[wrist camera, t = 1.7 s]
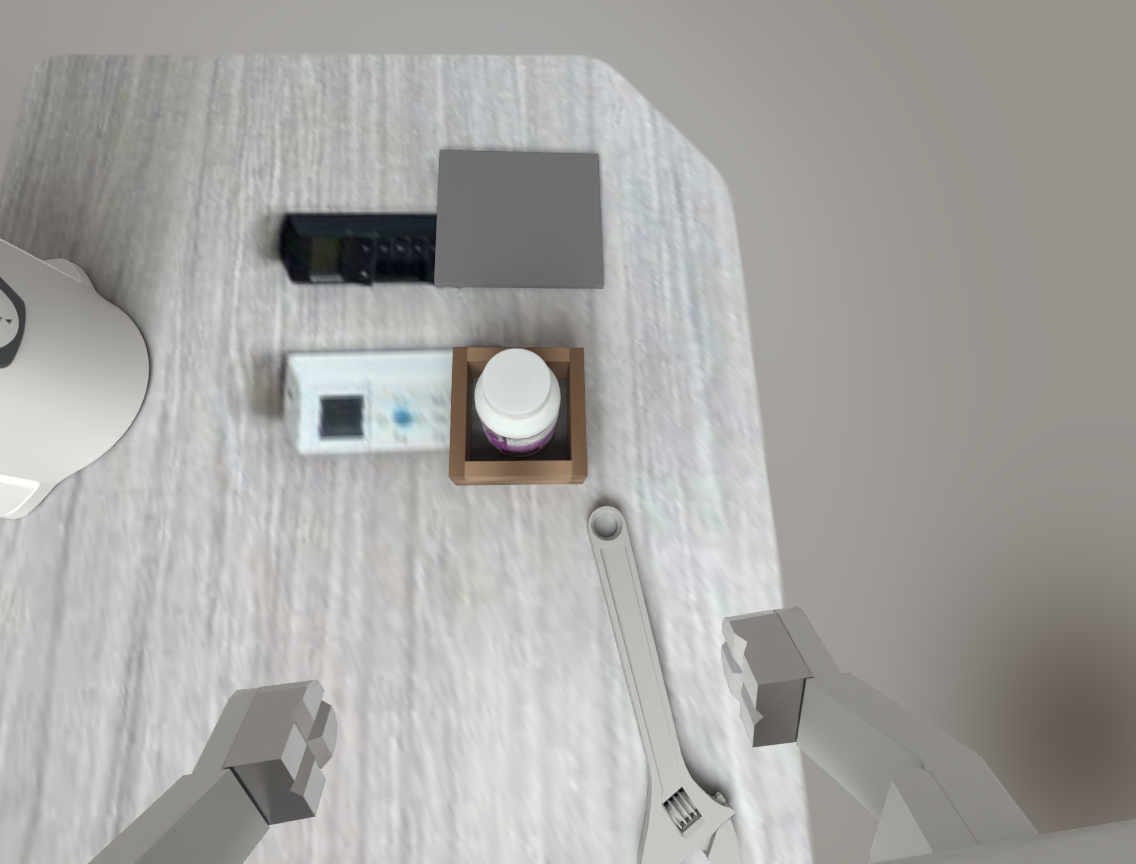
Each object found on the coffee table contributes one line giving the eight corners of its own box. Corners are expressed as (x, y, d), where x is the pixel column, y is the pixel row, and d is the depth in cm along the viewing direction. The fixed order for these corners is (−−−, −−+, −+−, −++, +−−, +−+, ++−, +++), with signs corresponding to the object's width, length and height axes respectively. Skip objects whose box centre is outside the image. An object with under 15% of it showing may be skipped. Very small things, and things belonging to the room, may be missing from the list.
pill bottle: (473, 401, 41) (456, 351, 32) (541, 379, 42) (544, 323, 33) (497, 469, 40) (486, 437, 31) (566, 445, 41) (576, 407, 32)
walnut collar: (456, 485, 40) (448, 476, 36) (459, 365, 42) (453, 347, 39) (582, 483, 40) (587, 475, 37) (579, 365, 43) (583, 347, 39)
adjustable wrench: (580, 512, 40) (582, 509, 39) (667, 499, 41) (673, 495, 39) (645, 918, 34) (651, 936, 33) (745, 896, 35) (756, 912, 33)
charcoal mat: (435, 286, 43) (434, 282, 43) (440, 155, 46) (439, 149, 46) (602, 288, 44) (603, 284, 44) (597, 159, 47) (598, 154, 47)
